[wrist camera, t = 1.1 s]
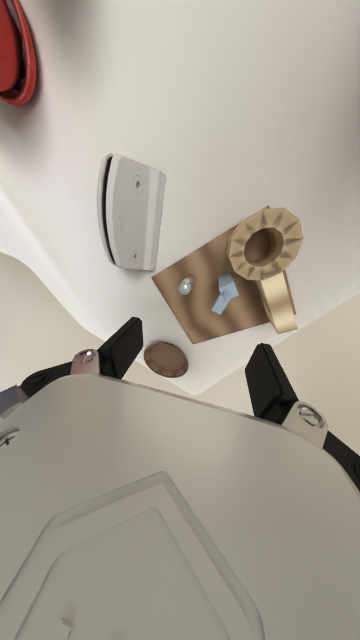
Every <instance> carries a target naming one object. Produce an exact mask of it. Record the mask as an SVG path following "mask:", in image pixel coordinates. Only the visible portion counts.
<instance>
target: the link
mask: <svg viewBox="0 0 360 640" xmlns="http://www.w3.org/2000/svg"><path fill="white" fill-rule="evenodd" d="M260 229H262V230H264V231H265V232H266V233H268V235H269V238H270V245H269V249H268V251H267V252H266V253H265V254H264V256H263V257H262V258H260V259H258V260H256V261H246V259H245V256H244V248H245V243H246V242H247V240H248V239H249V238H250V236H251V235H252V234H253V233H254V232H256V231H258V230H260ZM302 240H303V236H302V231H301V225H300V220H299V219H298V218H297V217H296V216H294V215H293V214H292V213H290V212H289V211H288V210H286V209H285V208H273V209H262V210H261V211H259V212H258V213H256V214H254V215H253V216H251V217H249V218H248V219H246V220H244V221H243V222H241V223H240V224H238V225H237V227H236V228H235V230H234V231H233V233H232V234H231V236H230V237H229V241H228V247H227V255H228V258H229V260H230V263H231V265H232V267H233V269H234V271H235V272H236V273H238V274H239V275H241V276H242V277H244V278H245V279H246V280H255V281H256V284H257V287H258V290H259V293H260V296H261V299H262V302H263V305H264V308H265V311H266V314H267V316H268V319H269V321H270V322H271V324H272V325H273V327H274V328H275V330H276V332H277V333H278V334H281V333H285V332H288V331H292V330H296V329H297V326H296V322H295V318H294V314H293V310H292V306H291V303H290V299H289V295H288V291H287V287H286V283H285V279H284V275H283V272H282V271H283V270H284V269H285V268H286V267H287V266H288V265H289V264H290V263H291V262H292V261H293V260H294V259H295V258H296V255H297V253H298V250H299V247H300V245H301V242H302Z"/></svg>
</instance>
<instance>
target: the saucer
mask: <svg viewBox="0 0 360 640" xmlns="http://www.w3.org/2000/svg"><path fill="white" fill-rule="evenodd" d="M144 360H145V362H146V364H147V365H148V367H149V368H150V369H151V370H152V371H154V372H155V373H157V374H159V375H161V376H164V377H168V378H177V377H180V376H182V375H184V374H185V373H186V372H187V370H188V361H187V359H186V357H185V355H184V354H183V353H182V351H180V350H179V349H178V348H177V347H175V346H173V345H170V344H167V343H156V344H152V345H150V346H148V347H147V348H146V350H145V351H144Z"/></svg>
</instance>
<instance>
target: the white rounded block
mask: <svg viewBox="0 0 360 640" xmlns="http://www.w3.org/2000/svg"><path fill="white" fill-rule="evenodd" d="M165 182H166V175H165V174H163V173H162V172H160V171H158V170H156V169H154V168H151V167H149V166H147V165H144V164H141V163H139V162H136V161H134V160H131V159H129V158H126V157H124V156H121V155H119V154H115V155H113V154H108V155H106V156H105V157H103V159H102V163H101V167H100V173H99V180H98V192H97V210H98V221H99V228H100V234H101V238H102V242H103V246H104V249H105V252H106V255H107V257H108V259H109V261H110V262H111V263H112V264H113V265H115V266H118V267H119V268H124V269H139V270H150V271H152V270H155V269H156V260H157V252H158V243H159V234H160V225H161V217H162V208H163V199H164V190H165Z"/></svg>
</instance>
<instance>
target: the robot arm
mask: <svg viewBox="0 0 360 640" xmlns="http://www.w3.org/2000/svg"><path fill="white" fill-rule="evenodd" d="M142 347H143V332H142V321H141V320H140V318H136V317H132V318H131V319H130V320H128V321H127V322H126V323H125V324H124V325H123V326H122V327H121V328H120V329H119V330H118V331H117V332H116V333H115V334H114V335H112V336H111V337H110V338H109V339H108V340H107V341H106V342H105V343H104V344H103V345H102V346H101V347H100V348H99V349H98V350H97V351H96V350H94V349H87V350H84V351H81V352H79V353H78V354H76V355H75V356H74V358H73V361H71V362H68V363H65V364H61V365H58V366H55V367H51V368H48V369H44V370H41V371H38V372H35V373H33V374H32V375H30V376H29V377H27V378H26V379H25V380H24V381H23V382H22V384H21V385H20V386H17V385H15V386H13V387H10V388H8V389H6V390H4V391H2V392H0V640H360V456H359V455H358V454H356V453H355V452H354V451H353V450H351V449H350V448H349V447H348V446H347V445H345V444H344V443H343V442H342V441H340V440H339V439H338V438H337V437H336V436H334V435H333V434H332V433H331V432H329V431H328V424H327V421H326V420H325V418H324V417H323V415H322V414H321V413H320V412H319V411H318V410H316V409H315V408H314V407H312V406H311V405H309V404H307V403H305V402H300V401H299V400H298V398H297V396H296V394H295V392H294V390H293V388H292V386H291V384H290V383H289V380H288V378H287V376H286V374H285V372H284V371H283V368H282V367H281V365H280V363H279V361H278V359H277V357H276V355H275V353H274V352H273V349H272V347H271V346H270V345H269V344H264V343H261V344H260V345H259V344H258V345H257V346H256V348H255V350H254V352H253V354H252V356H251V358H250V360H249V362H248V364H247V366H246V368H245V374H246V379H247V383H248V389H249V393H250V398H251V403H252V407H253V412H254V416H255V417H254V416H251V415H248V414H244V413H241V412H237V411H234V410H230V409H227V408H223V407H219V406H216V405H213V404H209V403H205V402H202V401H198V400H195V399H191V398H187V397H184V396H180V395H176V394H173V393H169V392H166V391H162V390H159V389H155V388H151V387H147V386H144V385H140V384H136V383H133V382H129V381H125V380H121V379H122V377H123V376H124V374H125V373H126V371H127V370H128V368H129V367H130V365H131V364H132V362H133V361H134V360H135V358H136V357H137V355H138V354H139V352H140V351H141V349H142Z"/></svg>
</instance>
